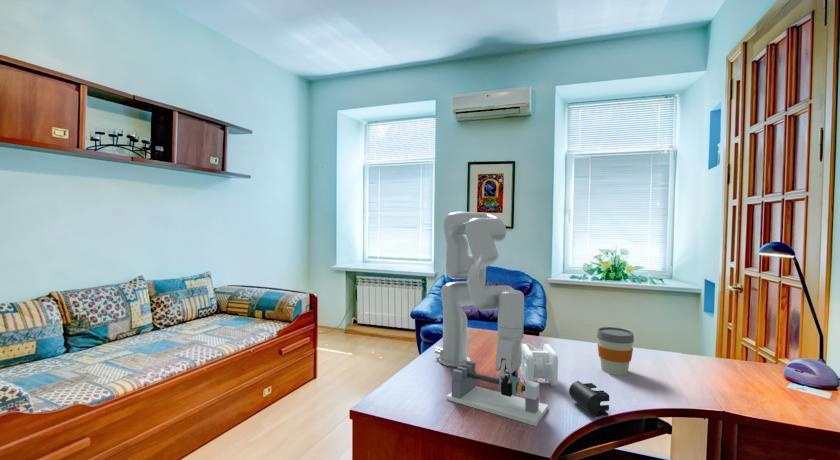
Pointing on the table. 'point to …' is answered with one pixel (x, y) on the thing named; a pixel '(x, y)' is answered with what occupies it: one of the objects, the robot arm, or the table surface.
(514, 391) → the sleeve
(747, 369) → the table surface
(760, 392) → the table surface
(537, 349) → the pale grey flat piece
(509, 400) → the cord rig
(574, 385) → the end cap
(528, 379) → the cable organizer
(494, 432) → the table surface
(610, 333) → the reusable coffee cup
